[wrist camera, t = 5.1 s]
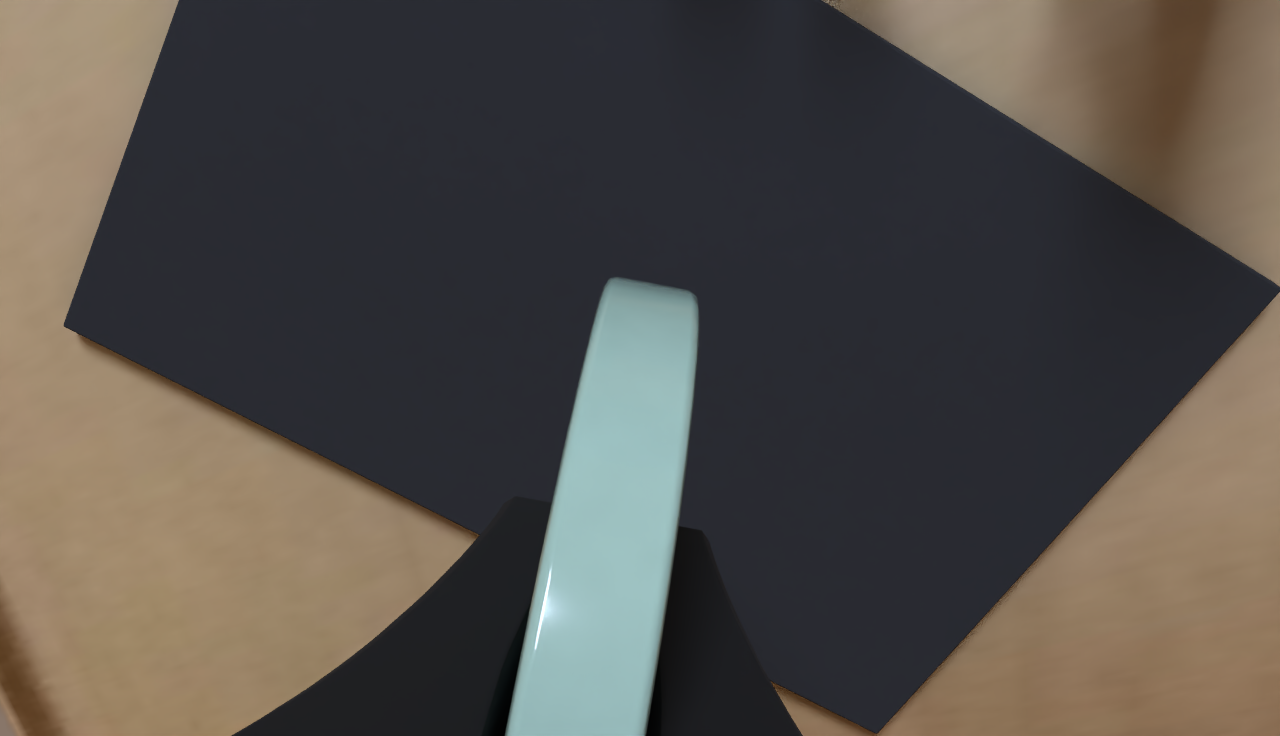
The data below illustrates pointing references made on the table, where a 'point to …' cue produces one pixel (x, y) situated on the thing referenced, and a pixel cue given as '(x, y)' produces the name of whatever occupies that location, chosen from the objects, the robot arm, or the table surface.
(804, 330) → the charcoal mat
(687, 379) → the pale green plate
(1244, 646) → the table surface
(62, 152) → the table surface
